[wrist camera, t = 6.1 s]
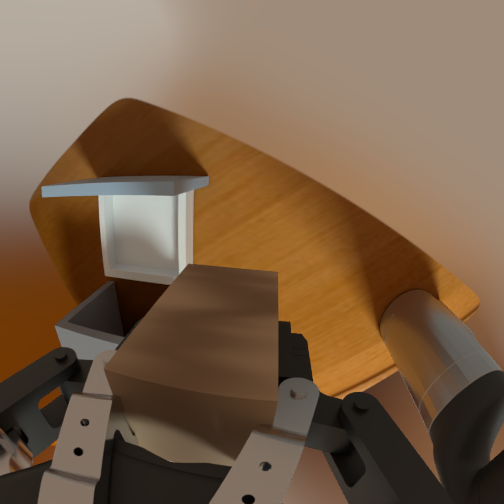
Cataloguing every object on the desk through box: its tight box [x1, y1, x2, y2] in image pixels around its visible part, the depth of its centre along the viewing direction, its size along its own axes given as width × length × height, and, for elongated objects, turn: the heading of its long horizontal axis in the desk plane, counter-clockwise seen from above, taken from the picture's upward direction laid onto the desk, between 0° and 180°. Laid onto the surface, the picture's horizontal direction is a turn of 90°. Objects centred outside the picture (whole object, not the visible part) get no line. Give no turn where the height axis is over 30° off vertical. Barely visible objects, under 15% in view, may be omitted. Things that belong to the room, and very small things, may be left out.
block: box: [104, 264, 278, 466], centre depth 10 cm, size 4×4×8 cm
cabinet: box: [55, 281, 125, 360], centre depth 29 cm, size 14×12×12 cm
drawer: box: [42, 176, 209, 285], centre depth 25 cm, size 14×12×11 cm
